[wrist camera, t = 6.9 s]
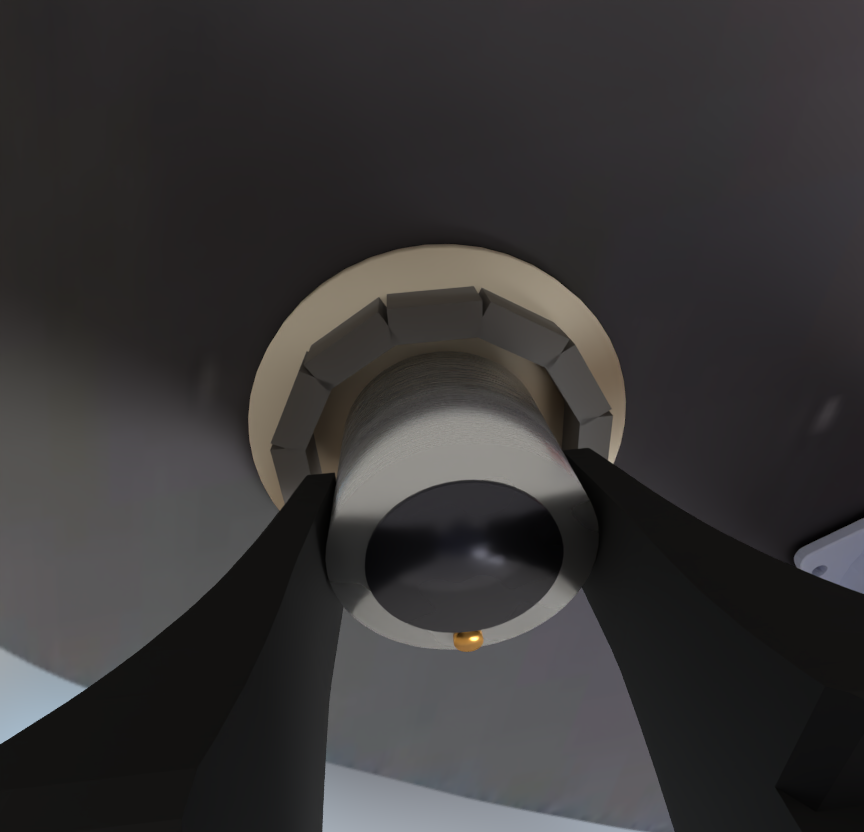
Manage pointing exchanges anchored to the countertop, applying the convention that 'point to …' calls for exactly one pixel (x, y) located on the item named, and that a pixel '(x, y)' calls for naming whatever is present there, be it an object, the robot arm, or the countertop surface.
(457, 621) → the lens
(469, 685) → the countertop surface
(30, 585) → the countertop surface
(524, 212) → the countertop surface
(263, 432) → the mount
